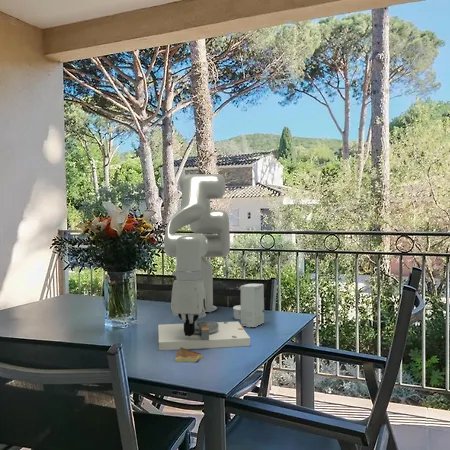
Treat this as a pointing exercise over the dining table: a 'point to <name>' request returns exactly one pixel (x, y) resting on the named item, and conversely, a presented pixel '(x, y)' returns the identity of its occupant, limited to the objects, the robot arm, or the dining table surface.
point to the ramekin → (237, 312)
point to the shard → (187, 356)
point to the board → (224, 337)
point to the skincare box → (252, 305)
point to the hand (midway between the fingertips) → (189, 334)
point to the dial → (205, 328)
